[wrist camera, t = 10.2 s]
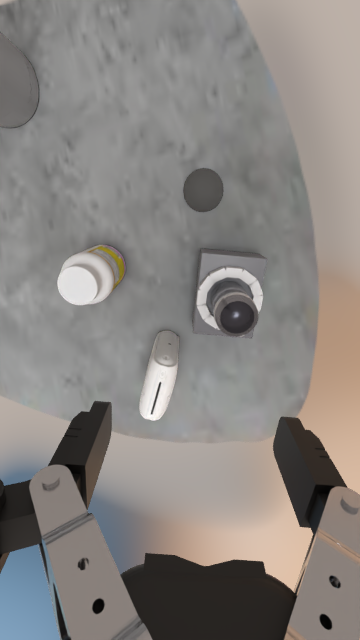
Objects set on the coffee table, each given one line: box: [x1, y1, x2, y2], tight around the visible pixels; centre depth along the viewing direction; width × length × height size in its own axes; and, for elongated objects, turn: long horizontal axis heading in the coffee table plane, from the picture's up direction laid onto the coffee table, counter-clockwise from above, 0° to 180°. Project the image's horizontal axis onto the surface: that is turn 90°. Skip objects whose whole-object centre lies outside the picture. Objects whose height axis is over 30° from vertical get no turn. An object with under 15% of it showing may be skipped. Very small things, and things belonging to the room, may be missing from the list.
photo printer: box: [139, 330, 179, 421], centre depth 45 cm, size 10×4×12 cm, turn 165°
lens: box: [210, 281, 258, 337], centre depth 37 cm, size 5×5×8 cm
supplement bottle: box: [57, 245, 126, 305], centre depth 39 cm, size 7×7×13 cm
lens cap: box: [184, 168, 223, 212], centre depth 41 cm, size 6×6×1 cm
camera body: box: [192, 248, 268, 338], centre depth 43 cm, size 9×12×6 cm
